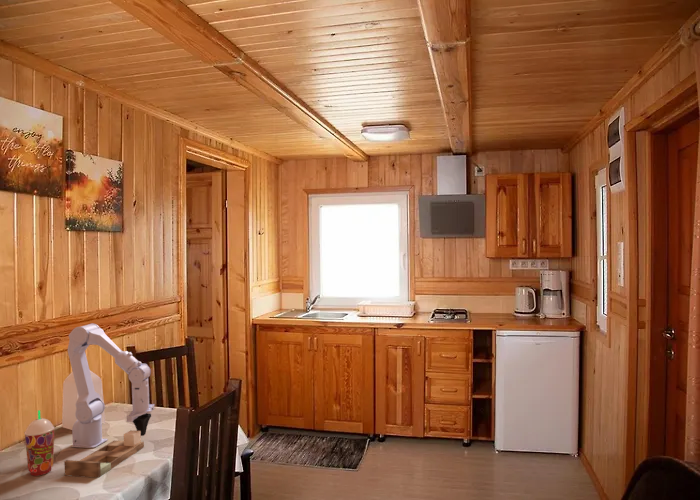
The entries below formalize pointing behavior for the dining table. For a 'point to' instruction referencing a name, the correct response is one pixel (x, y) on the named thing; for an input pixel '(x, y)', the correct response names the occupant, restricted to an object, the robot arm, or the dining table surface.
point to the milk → (72, 396)
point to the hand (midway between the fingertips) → (141, 435)
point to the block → (132, 438)
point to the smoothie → (39, 446)
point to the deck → (101, 459)
